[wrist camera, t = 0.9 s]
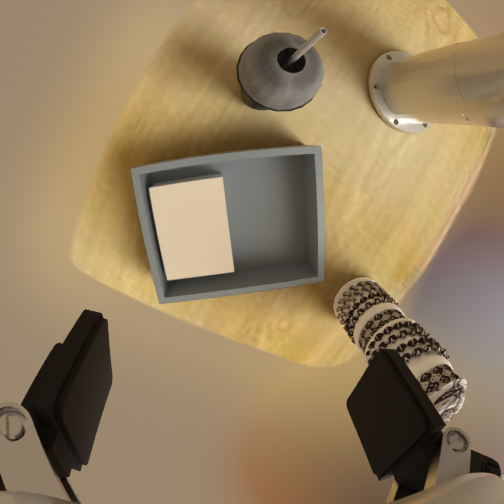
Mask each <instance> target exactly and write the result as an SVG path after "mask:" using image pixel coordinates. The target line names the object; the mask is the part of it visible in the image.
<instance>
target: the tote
mask: <svg viewBox="0 0 504 504" xmlns="http://www.w3.org/2000/svg"><path fill="white" fill-rule="evenodd" d="M219 173H222V176H223V184H224V193H225V201H226V209H227V218H228V226H229V234H230V242H231V250H232V257H233V265H234V272H230V273H222V274H214V275H207V276H199V277H191V278H183V279H175V280H167V277H166V272H165V268H164V263H163V259H162V254H161V250H160V245H159V240H158V235H157V230H156V225H155V220H154V215H153V209H152V203H151V198H150V192H149V188H150V187H151V186H153V185H154V184H155V183H159V182H164V181H170V180H177V179H183V178H190V177H197V176H204V175H211V174H219ZM131 174H132V181H133V187H134V193H135V198H136V204H137V209H138V214H139V219H140V224H141V229H142V234H143V239H144V243H145V248H146V252H147V256H148V260H149V265H150V269H151V273H152V277H153V281H154V285H155V288H156V292H157V296H158V299H159V303H160V304H165V303H174V302H183V301H191V300H200V299H208V298H216V297H223V296H231V295H238V294H246V293H253V292H260V291H267V290H274V289H280V288H287V287H293V286H300V285H306V284H312V283H318V282H324V269H325V232H324V191H323V168H322V151H321V146H314V145H293V146H278V147H265V148H254V149H243V150H234V151H225V152H217V153H209V154H202V155H195V156H188V157H182V158H176V159H170V160H164V161H158V162H153V163H147V164H143V165H140V166H137V167H134V168H131Z"/></svg>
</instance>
